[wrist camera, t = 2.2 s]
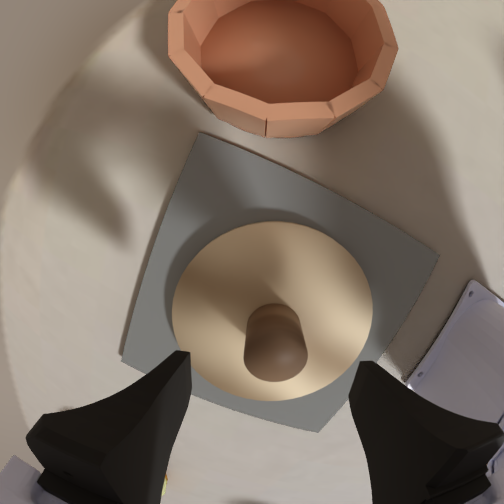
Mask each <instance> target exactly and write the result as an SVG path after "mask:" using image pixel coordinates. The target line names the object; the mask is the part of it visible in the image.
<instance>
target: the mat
mask: <svg viewBox="0 0 504 504" xmlns="http://www.w3.org/2000/svg"><path fill="white" fill-rule="evenodd" d="M262 221H285V222H293V223H298V224H302V225H306V226H309V227H311V228H314V229H316V230H319V231H321V232H322V233H324V234H326V235H328V236H329V237H331V238H332V239H334V240H335V241H336V242H338V243H339V244H340V245H341V246H343V247H344V248H345V249H346V250H347V251H348V252H349V253H350V254H351V255H352V256H353V257H354V258H355V260H356V261H357V263H358V264H359V266H360V267H361V268H362V270H363V272H364V274H365V276H366V279H367V281H368V284H369V287H370V291H371V296H372V303H373V316H372V323H371V328H370V331H369V335H368V338H367V340H366V342H365V345H364V347H363V349H362V350H361V352H360V354H359V355H358V357H357V358H356V360H355V361H354V362H353V363H352V365H351V366H350V367H349V368H348V369H347V370H346V371H345V372H344V373H343V374H342V375H341V376H339V377H338V378H337V379H336V380H334V381H333V382H332V383H330V384H328V385H327V386H325V387H323V388H321V389H319V390H317V391H315V392H313V393H310V394H308V395H305V396H302V397H298V398H294V399H288V400H281V401H259V400H252V399H246V398H242V397H239V396H235V395H233V394H230V393H228V392H225V391H223V390H221V389H219V388H218V387H216V386H214V385H212V384H211V383H210V382H208V381H207V380H205V379H204V378H203V377H202V376H201V375H200V374H198V373H197V372H196V371H195V370H194V368H193V367H192V366H191V376H192V391H191V394H192V395H194V396H196V397H199V398H202V399H204V400H207V401H209V402H212V403H215V404H218V405H220V406H223V407H226V408H229V409H232V410H235V411H238V412H241V413H244V414H247V415H250V416H254V417H257V418H260V419H264V420H267V421H271V422H274V423H278V424H282V425H286V426H290V427H294V428H298V429H303V430H307V431H312V432H317V433H318V432H319V431H320V430H321V429H322V428H323V427H324V426H325V425H326V424H327V423H328V422H329V420H330V419H331V418H332V417H333V416H334V415H335V414H336V413H337V411H338V410H339V409H340V408H341V407H342V406H343V404H344V403H345V402H346V401H347V400H348V399H349V397H348V395H349V392H350V389H351V386H352V383H353V380H354V377H355V374H356V371H357V368H358V365H359V362H360V361H374V362H375V363H376V362H377V361H378V360H379V358H380V357H381V355H382V354H383V353H384V351H385V350H386V348H387V347H388V345H389V344H390V342H391V341H392V339H393V338H394V336H395V335H396V333H397V332H398V330H399V329H400V327H401V325H402V324H403V322H404V321H405V319H406V317H407V316H408V314H409V312H410V311H411V309H412V307H413V305H414V304H415V302H416V300H417V299H418V297H419V295H420V293H421V291H422V289H423V288H424V286H425V284H426V282H427V280H428V278H429V276H430V274H431V272H432V270H433V268H434V266H435V264H436V262H437V260H438V258H439V256H440V255H439V254H437V253H436V252H434V251H433V250H431V249H430V248H428V247H427V246H425V245H424V244H422V243H420V242H419V241H417V240H416V239H414V238H413V237H411V236H409V235H408V234H406V233H405V232H403V231H401V230H400V229H398V228H396V227H395V226H393V225H391V224H390V223H388V222H386V221H385V220H383V219H381V218H380V217H378V216H376V215H374V214H373V213H371V212H369V211H367V210H366V209H364V208H362V207H360V206H359V205H357V204H355V203H353V202H351V201H349V200H348V199H346V198H344V197H342V196H340V195H338V194H336V193H334V192H332V191H331V190H329V189H327V188H325V187H323V186H321V185H319V184H317V183H315V182H313V181H311V180H309V179H307V178H305V177H303V176H301V175H299V174H296V173H294V172H292V171H290V170H288V169H286V168H284V167H282V166H279V165H277V164H275V163H273V162H271V161H268V160H266V159H264V158H262V157H259V156H257V155H255V154H253V153H250V152H248V151H246V150H243V149H241V148H238V147H236V146H234V145H231V144H229V143H226V142H224V141H221V140H219V139H216V138H214V137H211V136H208V135H206V134H203V133H200V132H199V134H198V136H197V139H196V141H195V143H194V145H193V147H192V150H191V152H190V154H189V156H188V159H187V161H186V163H185V166H184V168H183V170H182V173H181V175H180V178H179V180H178V182H177V185H176V187H175V190H174V192H173V195H172V197H171V200H170V202H169V205H168V208H167V210H166V213H165V216H164V218H163V221H162V224H161V227H160V229H159V232H158V235H157V238H156V241H155V244H154V246H153V249H152V252H151V255H150V258H149V261H148V265H147V268H146V271H145V274H144V277H143V280H142V284H141V287H140V290H139V294H138V297H137V301H136V304H135V308H134V311H133V315H132V319H131V323H130V327H129V330H128V334H127V338H126V343H125V347H124V351H123V355H122V360H121V362H123V363H125V364H127V365H129V366H131V367H133V368H135V369H137V370H139V371H141V372H143V373H145V374H147V373H149V372H150V371H151V370H153V369H154V368H155V367H156V366H158V365H159V364H160V363H161V362H162V361H164V360H165V359H166V358H167V357H168V356H169V355H171V354H172V353H173V352H174V351H176V350H180V351H181V349H180V347H179V345H178V343H177V340H176V337H175V334H174V329H173V324H172V305H173V298H174V294H175V290H176V287H177V284H178V282H179V280H180V278H181V275H182V274H183V272H184V271H185V269H186V268H187V266H188V264H189V263H190V262H191V261H192V260H193V259H194V257H195V256H196V255H197V254H198V253H199V252H200V251H201V250H202V249H203V248H204V247H205V246H206V245H207V244H209V243H210V242H211V241H212V240H214V239H216V238H217V237H219V236H220V235H222V234H224V233H226V232H228V231H230V230H232V229H234V228H237V227H240V226H243V225H247V224H250V223H256V222H262Z"/></svg>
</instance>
